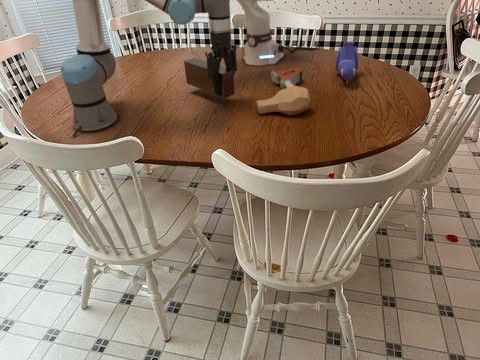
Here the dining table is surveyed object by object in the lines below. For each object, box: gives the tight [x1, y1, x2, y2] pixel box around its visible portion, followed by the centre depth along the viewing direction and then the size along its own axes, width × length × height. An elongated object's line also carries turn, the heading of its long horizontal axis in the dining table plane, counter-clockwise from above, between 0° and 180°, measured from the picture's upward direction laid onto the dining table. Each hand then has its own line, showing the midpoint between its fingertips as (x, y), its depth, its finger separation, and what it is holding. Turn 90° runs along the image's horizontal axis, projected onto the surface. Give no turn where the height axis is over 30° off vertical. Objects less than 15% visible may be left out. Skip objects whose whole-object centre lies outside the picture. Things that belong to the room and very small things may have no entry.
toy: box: [334, 40, 360, 86], centre depth 151 cm, size 10×17×25 cm
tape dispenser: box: [270, 67, 303, 90], centre depth 150 cm, size 18×5×20 cm
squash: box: [255, 85, 312, 116], centre depth 130 cm, size 11×20×9 cm, turn 92°
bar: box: [183, 57, 235, 99], centre depth 142 cm, size 24×6×10 cm, turn 44°
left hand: (223, 92), depth 139 cm, fingers closed on bar, 6 cm apart
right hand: (216, 1), depth 143 cm, fingers open, 8 cm apart
